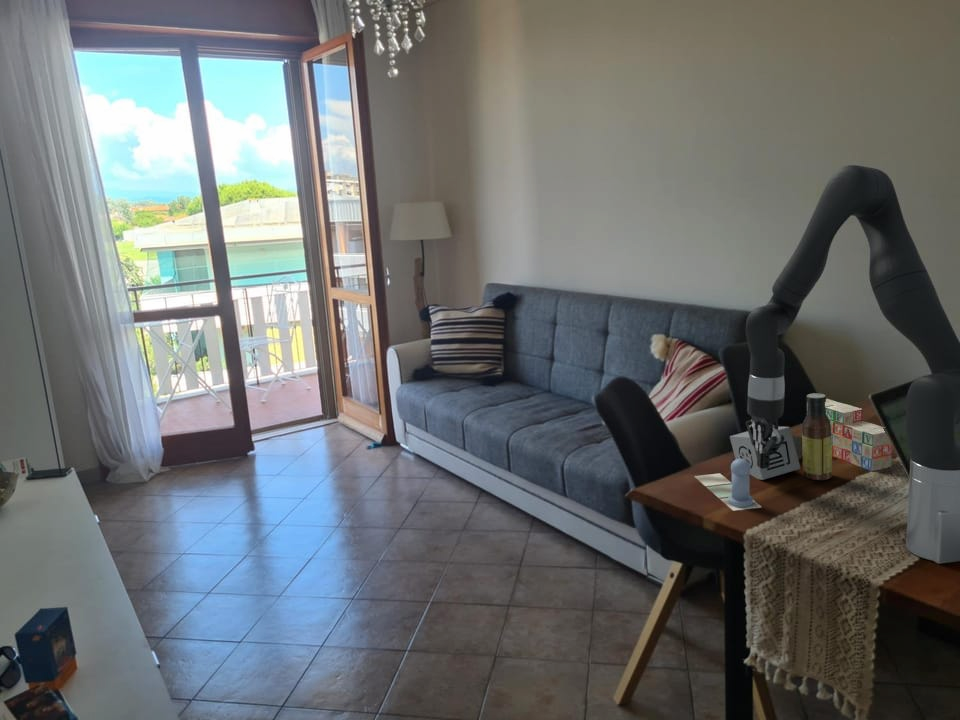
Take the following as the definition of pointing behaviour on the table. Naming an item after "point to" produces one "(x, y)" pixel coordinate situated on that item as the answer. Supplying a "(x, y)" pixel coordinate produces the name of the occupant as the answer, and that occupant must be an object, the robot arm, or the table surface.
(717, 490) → the board
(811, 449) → the sauce bottle
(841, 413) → the stack of blocks
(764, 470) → the icon cube
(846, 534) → the table surface
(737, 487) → the pawn
